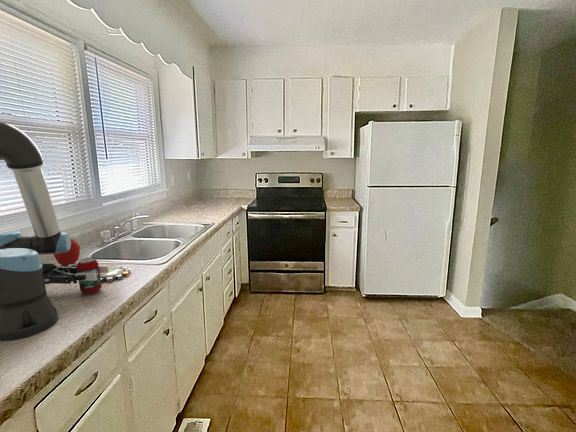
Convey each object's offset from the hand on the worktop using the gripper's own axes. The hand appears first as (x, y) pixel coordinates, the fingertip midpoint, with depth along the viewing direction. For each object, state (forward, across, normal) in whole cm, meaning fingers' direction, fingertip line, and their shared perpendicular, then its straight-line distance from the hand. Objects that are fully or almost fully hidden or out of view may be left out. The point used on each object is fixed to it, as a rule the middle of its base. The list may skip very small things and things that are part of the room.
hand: (102, 272), depth 116 cm
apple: (-35, -30, -7) cm, 47 cm away
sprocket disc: (-7, -16, -7) cm, 19 cm away
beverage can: (-5, 0, -7) cm, 9 cm away
